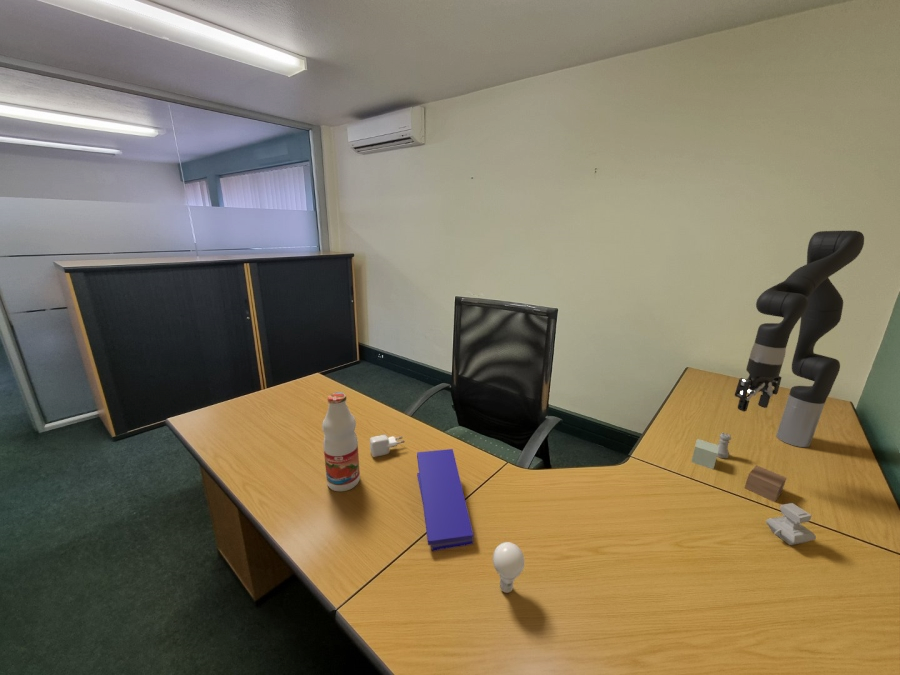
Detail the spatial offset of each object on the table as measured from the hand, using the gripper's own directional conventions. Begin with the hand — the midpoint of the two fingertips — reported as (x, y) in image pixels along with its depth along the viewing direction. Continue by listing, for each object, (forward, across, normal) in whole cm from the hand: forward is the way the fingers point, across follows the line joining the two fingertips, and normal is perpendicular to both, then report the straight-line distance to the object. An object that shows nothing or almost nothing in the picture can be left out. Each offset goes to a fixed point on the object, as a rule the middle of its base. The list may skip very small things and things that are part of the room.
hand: (752, 408), depth 110 cm
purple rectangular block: (+21, +97, -7) cm, 99 cm away
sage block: (+21, +8, -5) cm, 23 cm away
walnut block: (+21, +3, +10) cm, 24 cm away
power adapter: (+20, +108, -36) cm, 116 cm away
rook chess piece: (+21, -1, -6) cm, 22 cm away
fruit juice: (+20, +123, -24) cm, 127 cm away
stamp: (+21, +16, +25) cm, 36 cm away
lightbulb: (+20, +90, +19) cm, 94 cm away
